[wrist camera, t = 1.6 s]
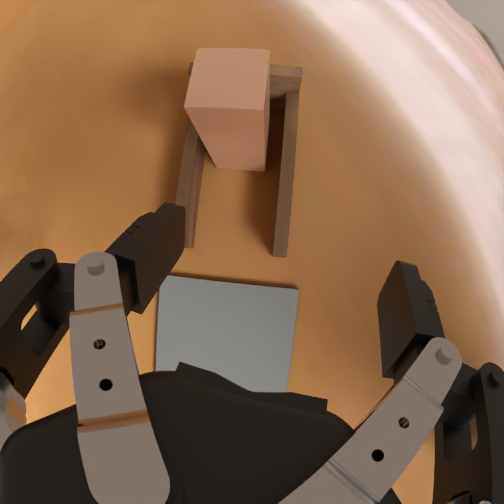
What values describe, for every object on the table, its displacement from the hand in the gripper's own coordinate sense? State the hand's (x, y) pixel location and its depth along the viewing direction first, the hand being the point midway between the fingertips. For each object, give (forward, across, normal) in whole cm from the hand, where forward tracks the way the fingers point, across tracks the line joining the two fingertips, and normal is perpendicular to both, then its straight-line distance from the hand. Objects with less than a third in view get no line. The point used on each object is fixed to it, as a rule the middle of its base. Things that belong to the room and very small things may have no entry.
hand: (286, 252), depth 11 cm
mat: (+10, +4, +19) cm, 22 cm away
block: (+22, +7, +4) cm, 23 cm away
